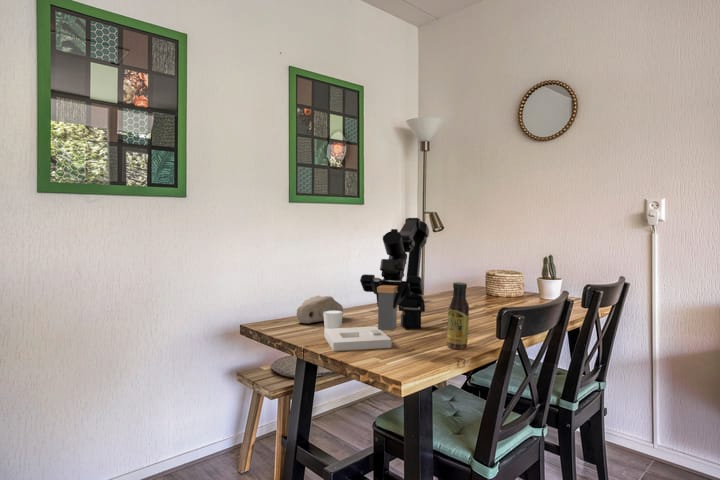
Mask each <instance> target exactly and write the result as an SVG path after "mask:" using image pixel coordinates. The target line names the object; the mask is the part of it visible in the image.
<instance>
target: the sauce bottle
mask: <svg viewBox="0 0 720 480" xmlns="http://www.w3.org/2000/svg"><path fill="white" fill-rule="evenodd" d="M452 284H453V285H452V287H453V293H452V299H451V301H450V305H449V308H448V310H447V328H446V329H447V332H446V342H447V343H446V344H447V346H448V348H450V349H454V350H455V349H456V350H464V349H467V346H468V340H469V339H468V337H469V322H470V321H469V319H470V314H469V313H470V311H469V310H470V309H469V308H470V305H469V303H468V300H467V287H468V283H465V282H460V281H459V282H453V283H452Z"/></svg>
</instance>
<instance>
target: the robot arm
mask: <svg viewBox="0 0 720 480" xmlns="http://www.w3.org/2000/svg"><path fill="white" fill-rule="evenodd" d="M429 235H430V229H429V226H428V224H427V223H426V222H424V221H422V220H421V218H419V217H407V218H405V221H404V224H403V225H402V228H401V229H400V231H399V230H398V229H397V228H391V229H390V231H387V232H386V233H384V235H383V236H382V241H383V245H384V249H385V252H386V254H387V256H388V258H382V259H381V260H380V265H379V270H380V271H381V274H380V275H381V278H380V277H376V276H375V274H362V275H361V277H360V279H359V281H360V284H361V287H362V289H363V291H364V292H366V293H373V294H374V295H375V297H376V304H377V305H376V306H378V292H377V287H379V286H381V285H391V286H398V290H397V294H396V297H395V300H394V305H393V307H394V308H396V307H397V308H398V311H399V312H401V313H402V314H400V327H402V328H403V329H404V330H422V329H423V326H422V313H425V312H426V305H425V299H424V297H423V295H424V294H423V293H424V284H423V279H422V277H421V276H420V270H421V269H420V268H421V259H422V258H421V257H422V249H423V247H425V245H426V244H427V240H428V237H430V236H429ZM407 253H408V254H407ZM407 260H408V261H407ZM406 265H407V268H406ZM405 268H406V269H407V270H406V271H407V272H406V280H403V278H404V277H405ZM382 278H383V279H382Z"/></svg>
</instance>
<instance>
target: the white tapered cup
mask: <svg viewBox="0 0 720 480" xmlns="http://www.w3.org/2000/svg"><path fill="white" fill-rule="evenodd" d="M323 314H324V321H323V323H324V329H333V328H343V327H342V325H343V324H342V323H343V315H344V311H343V312H342V311H337V310H330V311H325V312H323Z"/></svg>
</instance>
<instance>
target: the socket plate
mask: <svg viewBox="0 0 720 480" xmlns="http://www.w3.org/2000/svg"><path fill="white" fill-rule="evenodd" d="M323 332H324V335H323V337H324V338H325V340H326V341H327V343H328V345H329V346H330V348H331V350H332V351H333V352H339V351H340V352H341V351H358V350H370V349H371V350H372V349H389V348H391V349H392V338H391V337H389V335H387V334H386V333H385V332H383V330H378V326H357V327H341V328H333V329H325V328H324V331H323Z"/></svg>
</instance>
